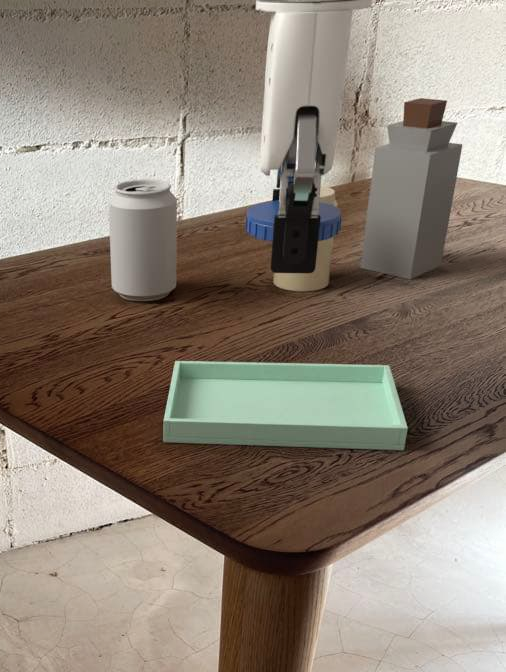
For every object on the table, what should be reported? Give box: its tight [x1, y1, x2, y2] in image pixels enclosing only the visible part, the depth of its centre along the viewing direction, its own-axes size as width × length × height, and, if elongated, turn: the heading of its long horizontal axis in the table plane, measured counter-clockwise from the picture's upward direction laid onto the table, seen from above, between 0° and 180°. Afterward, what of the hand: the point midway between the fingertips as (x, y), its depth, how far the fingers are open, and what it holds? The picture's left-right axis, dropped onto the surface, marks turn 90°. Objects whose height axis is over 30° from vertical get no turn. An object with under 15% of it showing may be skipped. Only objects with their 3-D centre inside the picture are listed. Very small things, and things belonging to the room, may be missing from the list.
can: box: [108, 178, 178, 302], centre depth 98 cm, size 8×8×12 cm
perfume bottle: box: [359, 97, 463, 280], centre depth 100 cm, size 7×7×18 cm
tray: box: [163, 360, 409, 451], centre depth 74 cm, size 19×12×2 cm, turn 81°
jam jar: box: [272, 185, 338, 292], centre depth 99 cm, size 6×6×10 cm
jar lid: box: [245, 200, 343, 243], centre depth 66 cm, size 7×7×1 cm
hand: (291, 254), depth 67 cm, fingers closed on jar lid, 6 cm apart
